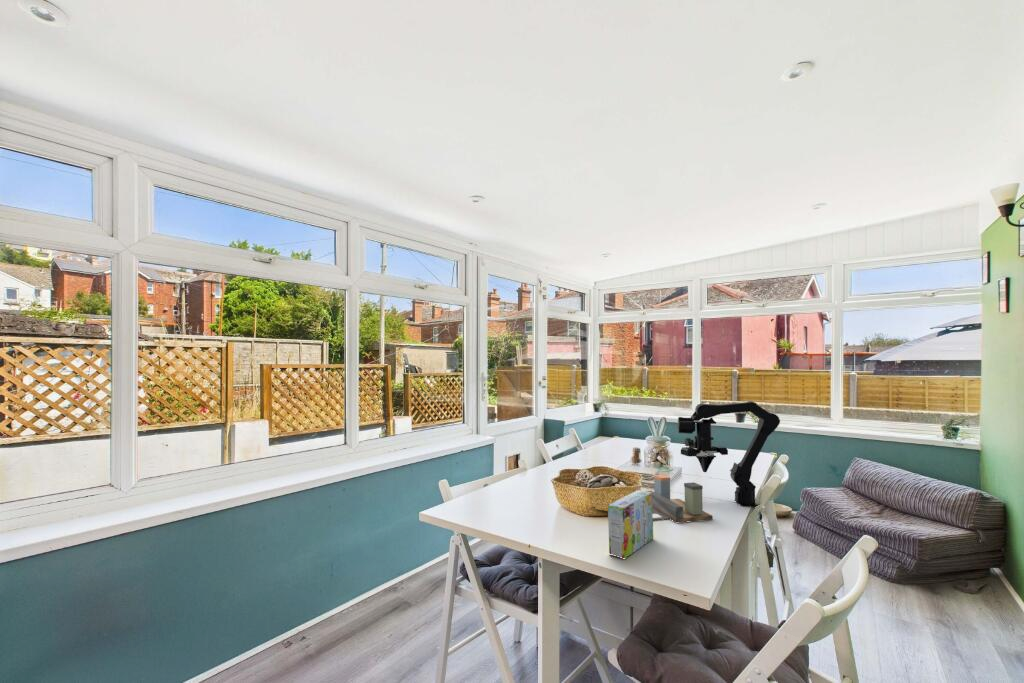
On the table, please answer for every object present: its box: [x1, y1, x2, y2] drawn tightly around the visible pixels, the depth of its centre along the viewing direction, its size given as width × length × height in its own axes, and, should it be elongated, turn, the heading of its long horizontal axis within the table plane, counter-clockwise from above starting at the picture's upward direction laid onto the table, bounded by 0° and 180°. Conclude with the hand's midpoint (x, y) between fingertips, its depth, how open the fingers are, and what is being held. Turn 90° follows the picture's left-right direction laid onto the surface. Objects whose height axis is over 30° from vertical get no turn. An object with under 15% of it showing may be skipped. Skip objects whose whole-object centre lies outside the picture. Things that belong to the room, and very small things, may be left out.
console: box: [646, 490, 714, 523], centre depth 177 cm, size 15×22×6 cm
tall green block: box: [683, 481, 704, 515], centre depth 171 cm, size 4×5×10 cm
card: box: [652, 508, 670, 521], centre depth 175 cm, size 8×14×1 cm, turn 13°
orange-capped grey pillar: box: [653, 474, 671, 500], centre depth 184 cm, size 4×5×10 cm
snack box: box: [607, 489, 654, 559], centre depth 144 cm, size 21×6×15 cm, turn 141°
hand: (704, 472), depth 191 cm, fingers closed
